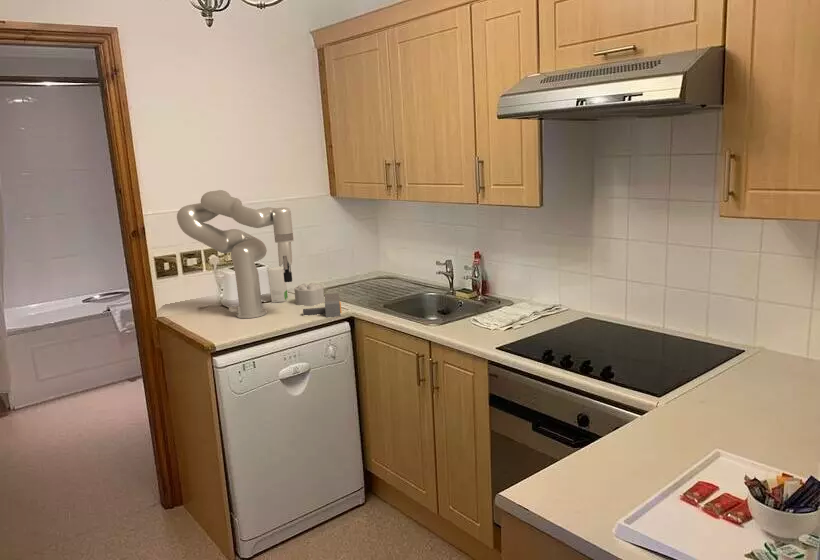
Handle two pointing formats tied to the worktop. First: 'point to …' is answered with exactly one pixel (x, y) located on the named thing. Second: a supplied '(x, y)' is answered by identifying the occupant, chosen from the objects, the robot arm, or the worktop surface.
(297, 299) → the lumpy-topped squat cylinder
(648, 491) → the worktop surface
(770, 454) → the worktop surface
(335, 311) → the block
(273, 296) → the skincare box
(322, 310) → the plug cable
